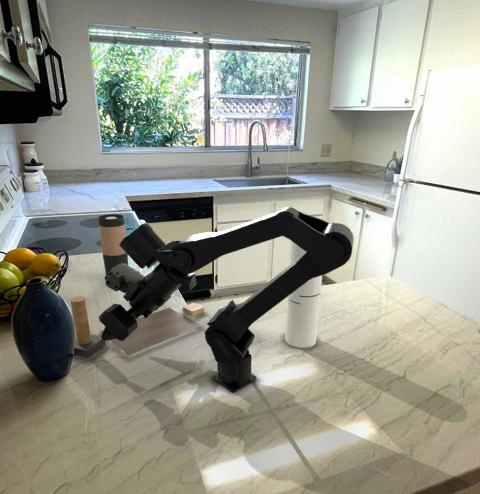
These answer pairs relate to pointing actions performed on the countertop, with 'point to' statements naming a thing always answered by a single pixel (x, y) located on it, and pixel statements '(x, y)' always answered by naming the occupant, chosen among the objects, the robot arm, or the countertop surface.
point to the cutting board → (155, 330)
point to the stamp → (84, 330)
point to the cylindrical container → (303, 309)
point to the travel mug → (112, 240)
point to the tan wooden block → (193, 309)
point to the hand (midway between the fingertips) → (115, 328)
